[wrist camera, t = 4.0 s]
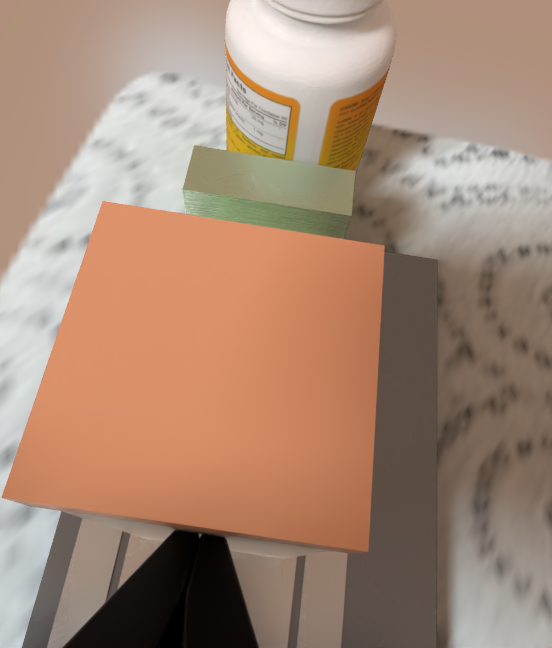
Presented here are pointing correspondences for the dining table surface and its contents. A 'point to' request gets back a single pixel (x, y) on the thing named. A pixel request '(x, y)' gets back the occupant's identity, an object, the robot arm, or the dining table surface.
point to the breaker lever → (212, 386)
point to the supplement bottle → (305, 77)
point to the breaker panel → (388, 461)
